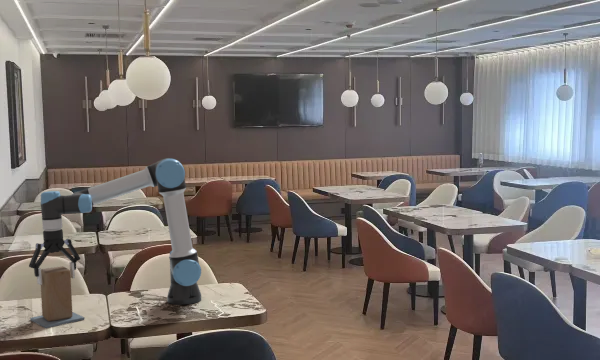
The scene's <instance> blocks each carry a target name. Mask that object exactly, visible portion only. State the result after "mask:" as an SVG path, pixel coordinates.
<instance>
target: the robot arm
mask: <svg viewBox="0 0 600 360" xmlns="http://www.w3.org/2000/svg"><path fill="white" fill-rule="evenodd" d="M185 176H186V171H185V168H184V166H183V164H182V163H181V161H179V160H177V159H175V158H171V157H170V158H169V157H166V158H162V159H160V160H158V161H156V162H154V163H152V164H150V165H147V166H145V167H144V169H142V170H139V171H136V172H134V173H133V172H132V173H130V174H127V175H125V176H122V177H121V176H120V177H118V178H116V179H112V180H110V181H106V182H104V183H101V184H97V185H94V186H91V187H87V188H85V189H82V190H78V191H74V192H73V193H72V194H71V195H61V192H60V191H59V190H51V191H43V192H42V193H41V194H40V211H41V222H42V223H41V224H42V230H43V231H42V237H43V243H35V250H34V252H33V254H32V257H31V259H30V262H29V265H28V268H31V269H33V272H34V273H33V274H34V277H36V279H37V281H36V282H37V285H39V286H41V285H42V278H41V269H42V268H40V266H42V264H43V262H44V261H45V259H46V258H47V256H49V255H50V254H54V253H58V252H61V253H62V254H63V255H64V256H65V257H66V258H67V259H68V260H69V270H70V273H71V279H73V280H74V279H75V278H76V273H75V270H77V262H78V261H79V260H81V257H80V255H79V254H78V252H77V249H76V248H74V245H73V243H72V239H70V238H66V239H64V231H63V230H64V229H63V219H62V218H63V216H62V215H67V214H69V215H70V214H81V213H82V214H84V213H90V212H92V210H93V206H94V205H95V206H96V205H98V204H101V203H105V202H107V201H109V200H112V199H113V200H114V199H116V198H118V197H122V196H125V195H127V194H128V195H129V194H131V193H133V192H135V191H139V190H143V189H145V188H149V187H153V188H154V187H155V188H156V187H157V190H158V194H160V195H161V196H162V198H163V203H164V209H165V214H166V215H165V216H166V220H167V221H166V223H167V225H168V232H169V239H170V244H171V251H169V257H168V258H169V273H170V274H169V275H170V277H169V278H170V286H169V289H168V291H167V292H168V293H167V296H166V299H167V300H166V302H167V303H168V304H171V305H182V306H183V305H190V304H197V303H199V302H201V301H202V293H201V290H200V288H199V285H198V281H199V280H200V279H201V276H202V267H201V265H200V263H199V255H198V251H197V250H196V249H195V248H194V247H193V241H192V234H191V229H190V226H189V225H190V224H189V217H188V210H187V207H186V201H185V199H186V198H185V195H184V193H185V191H186V190H187V184H186V179H185V178H186V177H185ZM64 245H67V247H68V249H69V252H70V253H69V252H68V251H67V250H66V248H65V247H64ZM43 248H44V250H43V251H42V249H43ZM41 251H42V253H41ZM40 253H41V254H40ZM71 254H72V255H71Z"/></svg>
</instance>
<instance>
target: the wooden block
mask: <svg viewBox="0 0 600 360" xmlns="http://www.w3.org/2000/svg"><path fill="white" fill-rule="evenodd" d="M41 278H42V285H40V292H41V293H40V295H41V297H40V299H41V300H40V301H41V314H42V316H43V317H44V318H45V319H46V320H47V321H56V320H61V319H67V318H71V317H72V315H73V314H72V312H73V299H72V298H73V297H72V278H71V273H70V268H67V267H65V266H56V267H55V266H54V267H47V268H41Z"/></svg>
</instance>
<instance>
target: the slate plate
mask: <svg viewBox="0 0 600 360" xmlns="http://www.w3.org/2000/svg"><path fill="white" fill-rule="evenodd" d="M72 314H73V315H72V317H71V318H67V319H61V320H56V321H47V320H46V319H45V318H44V317H43V316H42V315H37V316H33V317H30V319H29V320H30V321H31V322H33V323H35V324H37V325H38V326H40V327H43V329H47V328H54V327H58V326H62V324H63V325H66V323H67V324H72V323H77V322H80V320H81V321H85V320H84V319H86V318H85V317H84V316H82V315H80V314H78V313H76V312H74V311H72ZM71 322H72V323H71Z"/></svg>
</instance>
